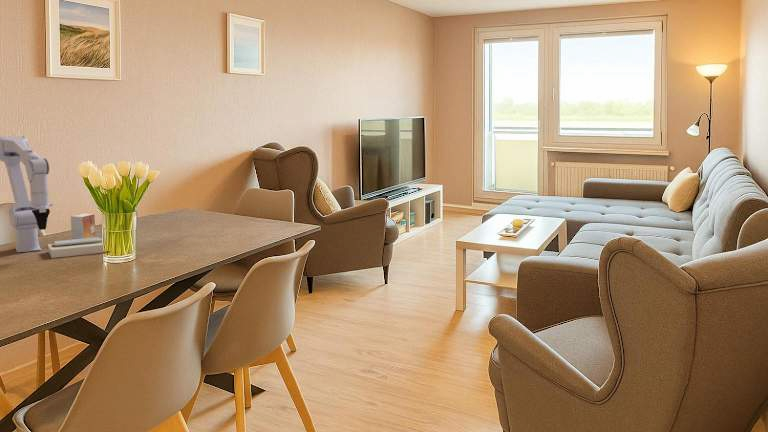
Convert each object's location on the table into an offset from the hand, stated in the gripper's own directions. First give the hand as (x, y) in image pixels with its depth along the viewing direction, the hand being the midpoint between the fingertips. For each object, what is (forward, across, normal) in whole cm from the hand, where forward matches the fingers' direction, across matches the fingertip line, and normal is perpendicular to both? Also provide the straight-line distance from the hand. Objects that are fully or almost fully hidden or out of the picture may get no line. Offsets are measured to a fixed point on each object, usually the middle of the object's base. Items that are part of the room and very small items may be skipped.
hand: (42, 229), depth 232 cm
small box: (+11, +25, -17) cm, 32 cm away
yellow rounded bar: (+9, +5, -13) cm, 16 cm away
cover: (+7, +4, -12) cm, 15 cm away
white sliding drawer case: (+10, +3, -12) cm, 16 cm away
